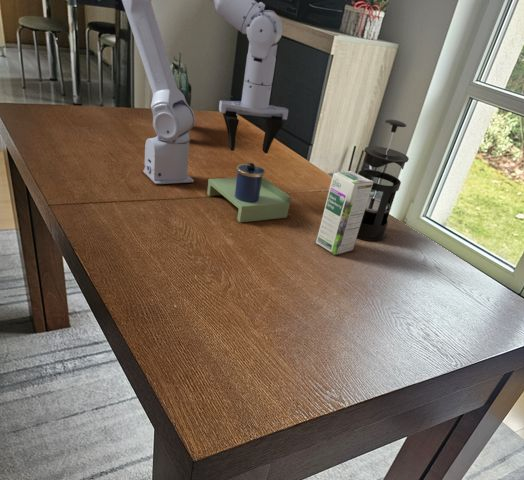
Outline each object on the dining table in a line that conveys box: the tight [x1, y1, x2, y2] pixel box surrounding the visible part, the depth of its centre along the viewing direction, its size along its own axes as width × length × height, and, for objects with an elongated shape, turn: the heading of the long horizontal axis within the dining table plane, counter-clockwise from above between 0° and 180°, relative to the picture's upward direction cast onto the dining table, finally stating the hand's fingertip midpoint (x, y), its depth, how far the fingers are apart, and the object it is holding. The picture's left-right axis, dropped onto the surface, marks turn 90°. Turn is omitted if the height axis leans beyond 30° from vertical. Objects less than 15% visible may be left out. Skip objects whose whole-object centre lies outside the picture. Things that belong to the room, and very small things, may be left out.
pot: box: [235, 162, 266, 202], centre depth 104 cm, size 6×6×7 cm
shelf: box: [206, 176, 292, 223], centre depth 111 cm, size 12×15×5 cm
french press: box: [356, 119, 410, 242], centre depth 105 cm, size 12×9×23 cm
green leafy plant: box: [169, 52, 192, 108], centre depth 142 cm, size 20×6×20 cm, turn 10°
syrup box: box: [315, 170, 374, 256], centre depth 98 cm, size 6×6×14 cm
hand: (248, 150), depth 110 cm, fingers open, 7 cm apart
